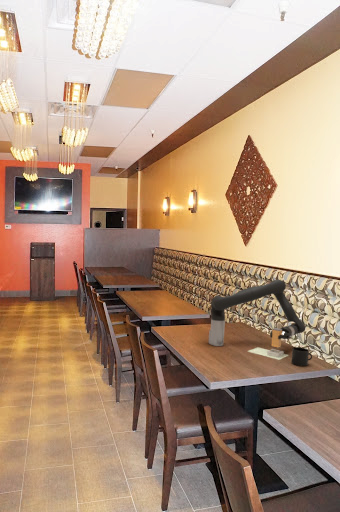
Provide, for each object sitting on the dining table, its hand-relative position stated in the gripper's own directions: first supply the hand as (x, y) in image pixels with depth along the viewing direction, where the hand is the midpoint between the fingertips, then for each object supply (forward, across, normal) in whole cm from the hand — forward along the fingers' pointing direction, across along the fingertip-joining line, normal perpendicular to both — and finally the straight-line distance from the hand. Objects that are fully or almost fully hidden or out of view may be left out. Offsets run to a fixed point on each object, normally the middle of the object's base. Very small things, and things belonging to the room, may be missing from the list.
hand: (274, 336), depth 262 cm
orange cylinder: (-3, 0, +6) cm, 7 cm away
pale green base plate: (-2, -5, +14) cm, 15 cm away
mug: (-3, +17, +14) cm, 22 cm away
